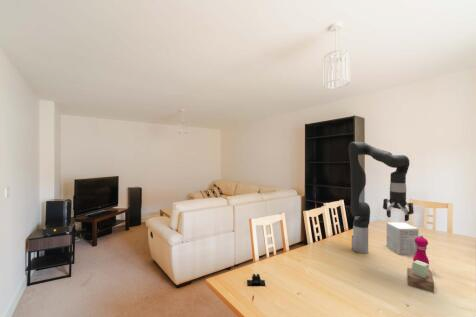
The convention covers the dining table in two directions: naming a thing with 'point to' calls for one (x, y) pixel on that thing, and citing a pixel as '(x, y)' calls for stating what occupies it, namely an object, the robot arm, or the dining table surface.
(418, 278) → the walnut box
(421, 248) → the pepper mill
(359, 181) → the robot arm
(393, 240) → the supplement box
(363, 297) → the dining table surface
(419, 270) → the green block
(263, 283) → the black irregular piece
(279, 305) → the dining table surface
